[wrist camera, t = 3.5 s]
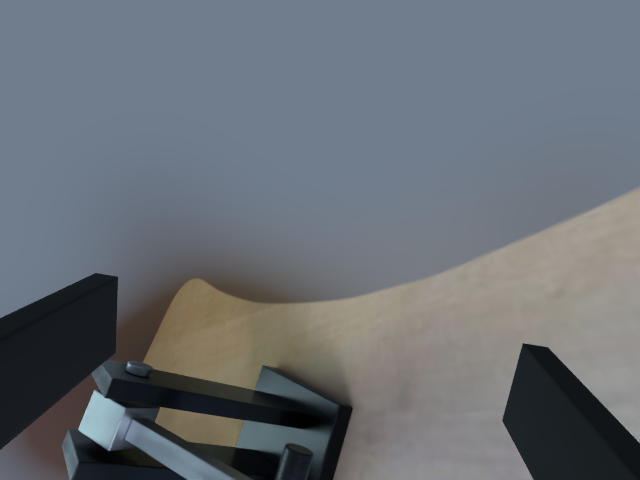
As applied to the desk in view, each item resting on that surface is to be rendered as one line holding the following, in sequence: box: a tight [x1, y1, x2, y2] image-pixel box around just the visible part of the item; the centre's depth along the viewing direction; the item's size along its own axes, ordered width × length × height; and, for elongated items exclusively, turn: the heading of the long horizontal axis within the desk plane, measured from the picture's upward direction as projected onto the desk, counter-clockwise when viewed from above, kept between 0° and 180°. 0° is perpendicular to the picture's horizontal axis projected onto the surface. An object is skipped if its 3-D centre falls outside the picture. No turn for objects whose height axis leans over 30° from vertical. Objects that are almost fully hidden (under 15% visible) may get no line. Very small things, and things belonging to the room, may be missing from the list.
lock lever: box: [78, 390, 314, 480], centre depth 21 cm, size 13×6×2 cm, turn 63°
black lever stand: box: [62, 360, 353, 480], centre depth 26 cm, size 10×8×14 cm
